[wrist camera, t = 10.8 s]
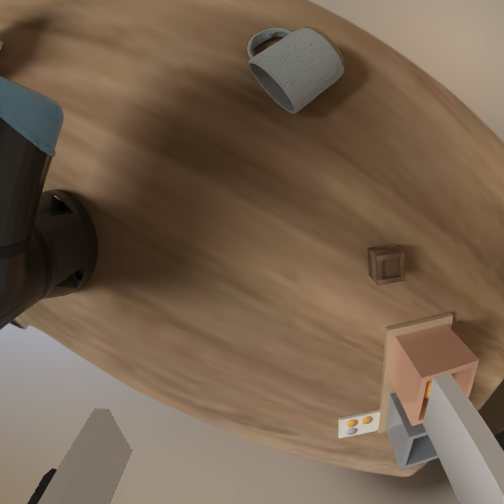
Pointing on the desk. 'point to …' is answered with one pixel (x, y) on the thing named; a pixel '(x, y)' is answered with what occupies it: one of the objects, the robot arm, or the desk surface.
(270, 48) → the ceramic mug
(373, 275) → the stand
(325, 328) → the desk surface
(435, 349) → the double square tube
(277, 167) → the desk surface
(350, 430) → the tile
